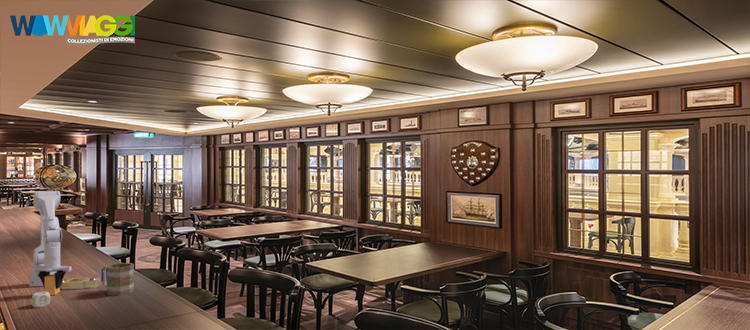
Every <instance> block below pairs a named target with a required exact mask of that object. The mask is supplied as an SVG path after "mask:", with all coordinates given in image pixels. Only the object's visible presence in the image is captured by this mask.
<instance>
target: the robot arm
mask: <svg viewBox="0 0 750 330" xmlns="http://www.w3.org/2000/svg"><path fill="white" fill-rule="evenodd" d="M60 204H61V192H60V191H59V190H54V191H53V190H52V191H51V190H50V191H34V192H33V207H34V210H38V212H39V214H40V221H39V222H40V244H39V245H38V246H37V247H35V248H34V249H33V254H32V260H33V261H32V263H33V266H32V267H31V268H30V271H29V285H28V287H30V288H31V287H43V289H44V290H45V276H48V275H50V274H54V275H55V280H56V289H58V288H60V285H61V282H62V280H64V277H65V275H66V273H68V272H71V271H72V265H71V266H70V265H61V243H62V241H63V232H62V229H61V227H60V222H59V217H57V216H56V215H55V214H56V212H55V211H56V210H57V209H58V208H59V205H60Z"/></svg>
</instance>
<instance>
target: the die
mask: <svg viewBox="0 0 750 330" xmlns="http://www.w3.org/2000/svg"><path fill="white" fill-rule="evenodd" d="M50 303H51V295H50V294H49V292H45V291H39V292H35V293H33V294H32V297H31V304H32V307H33V308H43V307H47V306H49V304H50Z"/></svg>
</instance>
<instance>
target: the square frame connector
mask: <svg viewBox="0 0 750 330" xmlns="http://www.w3.org/2000/svg"><path fill="white" fill-rule="evenodd" d="M100 285H102V277H89V276H88V277H72V278H69V279H67V280H65V279H62V282H61V285H60V290H83V289H94V288H95V289H96V288H97V287H99V286H100Z"/></svg>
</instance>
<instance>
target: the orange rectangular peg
mask: <svg viewBox="0 0 750 330" xmlns="http://www.w3.org/2000/svg"><path fill="white" fill-rule="evenodd" d="M44 292H49V294H50V296H55V295H58V294H59V293H60V292H61V289H60V288H58V289H56V280H55V275H54V274H50V275H48V276H45V289H44Z"/></svg>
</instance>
